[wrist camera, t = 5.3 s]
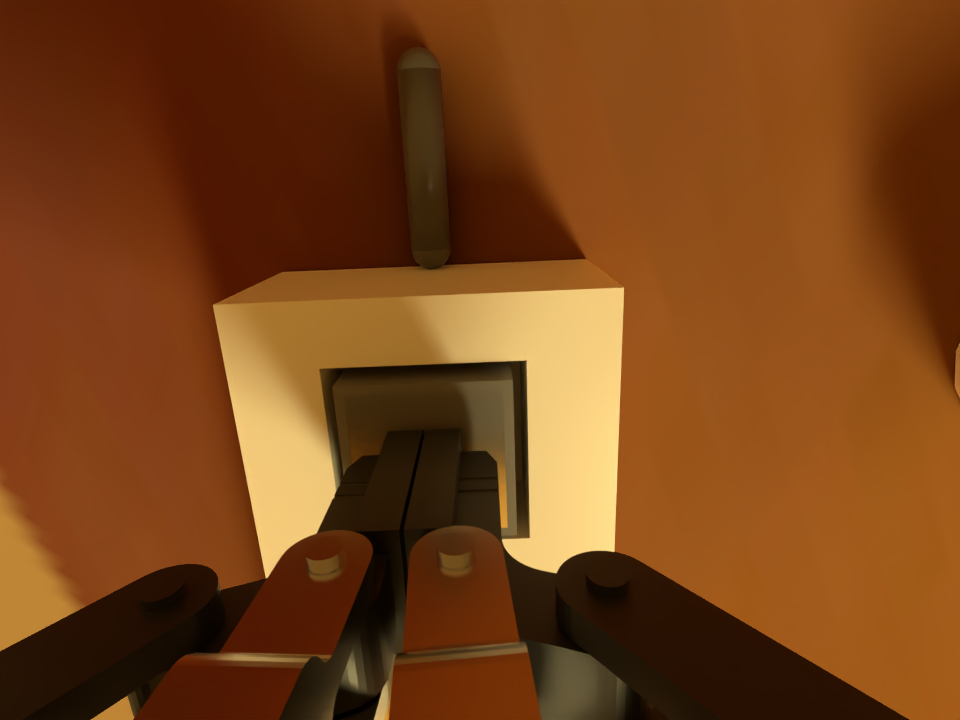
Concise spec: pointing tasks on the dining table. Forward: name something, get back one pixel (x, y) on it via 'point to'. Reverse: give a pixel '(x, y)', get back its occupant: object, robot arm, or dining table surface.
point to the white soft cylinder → (957, 371)
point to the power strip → (432, 361)
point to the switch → (432, 413)
